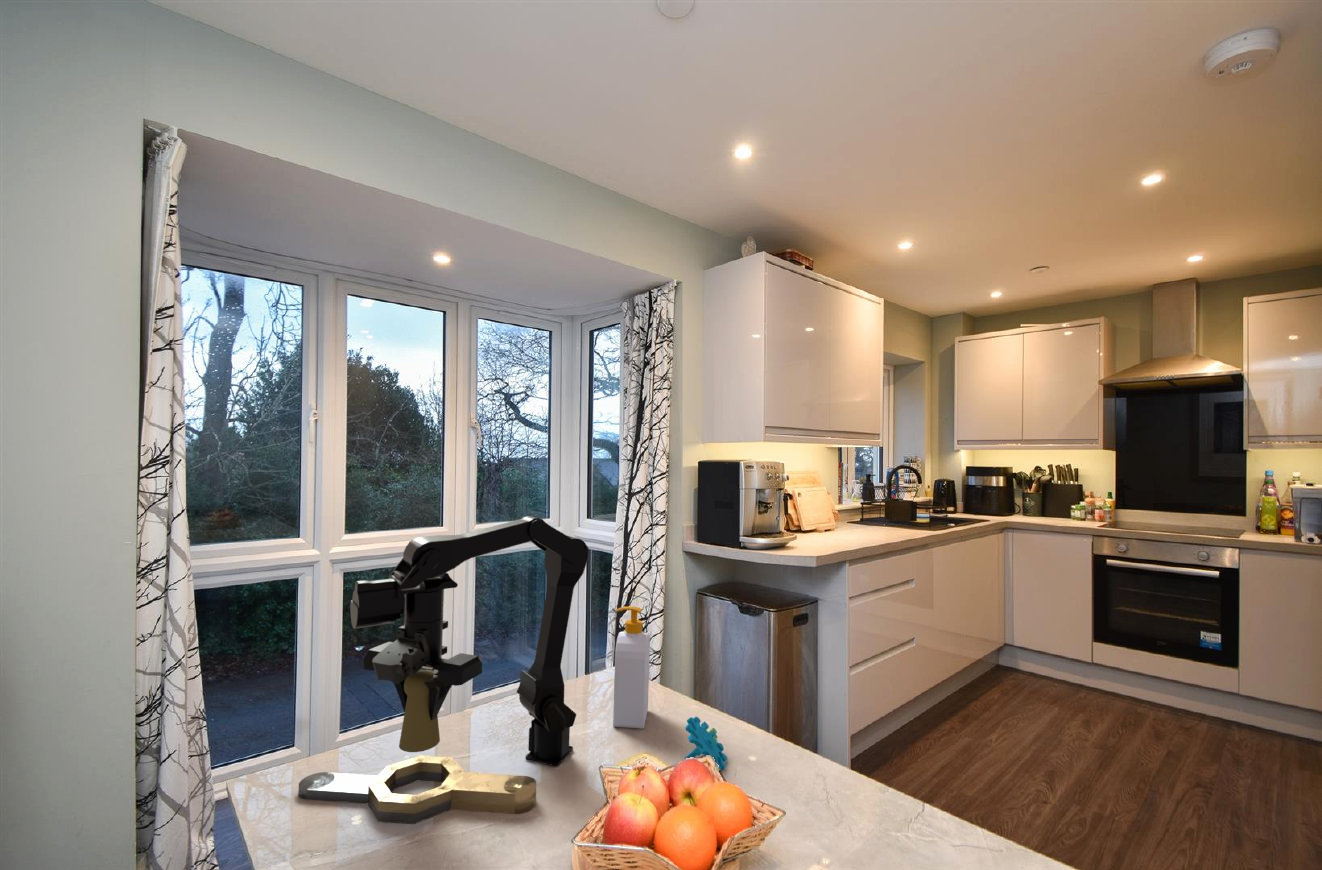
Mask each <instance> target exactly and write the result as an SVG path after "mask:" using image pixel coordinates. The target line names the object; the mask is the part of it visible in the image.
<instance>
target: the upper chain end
mask: <svg viewBox="0 0 1322 870" xmlns="http://www.w3.org/2000/svg"><path fill="white" fill-rule="evenodd" d="M419 771H423V772H438V773H442V774H443V775H444V776H445V778H446V780H445V781H444V782H443V784H442V783H441V785H440V786H437V787H435V788H432V789H429V790H426V791H423V792H421V793H417V794H404V793H403V794H402V793H393V792H392V793H391V792H390V790H389V789H388V787H389V786H390V785H391V784H392V783H393V782H394V780H395V779H397V778H400V777H403V776H407V775H410V774H413V773H416V772H419ZM537 784H538V783H537V780H536V779H535V778H534V777H532V776H528V775H519V774H518V775H517V774H503V773H488V772H487V773H486V772H485V773H484V772H472V771H465V770H464V769H463V768H462V767H461V766H460V765H459V764H458V763H457V762H456V761H455V760H454V758H452V757H448V756H434V755H433V756H432V755H430V756H429V755H418V756H415V757H412V758H409V759H408V758H407V759H405V760H401V761H399V762H395V763H392V764H389V765H386V766H385V768H384V769H382V770H381V772H380V773H378V774H377V777H376V778H375V779H374V780H373V781H372V782H371V783H370V784H369V786H368V795H369V797H370V798H371V800H372V801H373V803H374V805H375V806H376V808H377V809H378V811H381V812H396V813H410V814H415V813H418V812H420V811H423V810H426V809H428V808H431V807H434V806H436V805H439V804H442V803H444V802H447V801H450V800H451V809H450V810H453V811H454V810H455V811H469V812H481V813H496V814H497V813H499V814H515V815H521V814H524V813H528V812H529V811H532V810H533V809H534V808H535V806H536V804H537Z"/></svg>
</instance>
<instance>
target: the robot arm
mask: <svg viewBox="0 0 1322 870" xmlns="http://www.w3.org/2000/svg"><path fill="white" fill-rule="evenodd" d="M528 542H531V543H532V544H533V545H534V546H535V547H537V548H538V549H540V550H541V551H543V552H544V569H545V574H546V578H547V589H546V593H545V599H544V600H545V601H544V607H543V612H542V618H541V622H540V629H539V633H538V639H537V640H538V641H537V646H536V650H535V651H536V652H535V656H534V657H535V659H534V661H533V664H532V665H531V666H530V668H529V669H528V670H524V669H522V670H521V671H520V675H519V676H520V678H519V685H518V688H517V690H516V693H517V695H519V696H518V697H519V698H518V699H519V702H520V704H521V705H522V707H523V708H524V709H525V710H527V711H528V714H529V715H530V716H531V717H533V719H532V720H531V721H530V722H531V723H530V724H531V726H530V727H529V729H528V747H527V748H528V753H527V754H526V755H525V760H526V761H531V762H535V763H540V764H545V765H549V766H552V767H557V766H559V765H560V764H561V763H562V762H563V761H564V760H565V759H566V758H567V757H568V756H569V755H570V754H571V753H572V752H573V750H574V747H573V746H571V745H570V728H571V727H573V726H574V723H575V720H576V718H577V713H576V712H575V711H574V710H572V709H571V708H570V707H569V706H568V705H567V704H566V703H565V681H564V677H563V672H562V660H563V655H564V648H565V643H566V642H565V641H566V637H567V630H568V625H569V624H568V623H569V619H570V613H571V607H572V602H573V595H574V589H575V587H576V585H577V583H578V582H579V581H580V579H581V577H582V576H583V575H584V573H585V570H586V566H587V563H588V560H589V557H590V550H589V549H590V548H589V546H588V545H587V544H586V542H585V541H584V540H583V539H581V538H577V537H574V536H570V535H566V534H565V533H563V532H562V531H560V530H558V529H556V528H555V527H554V526H551V525H550V524H548V523H547V522H546V521H545V520H544V519H543V518H540V517H536V516H533V515H527V516H523V517H522V518H520V519H516V520H512V521H508V522H504V523H500V524H497V525H493V526H489V527H485V528H482V529H481V528H480V529H478V530H473V531H470V532H469V531H468V532H466V533H461V534H455V535H454V534H442V535H441V534H439V535H428V536H418V537H416V538H413V539H411V540H409V542H408V543H407V544H406V547H405V548H404V551H403V554H402V555H403V557H402V558H401V560H400V561H399V562H398V563H397V564H396V566H395V567H394V569H393V570H392V571H391V573H390V574H389V575H388V578H387V579H376V580H356V581H355V582H354V590H353V592H352V597H351V598H352V599H351V600H350V602H349V603H350V621H351V627H352V628H353V629H361V628H367V627H375V626H381V625H388V624H390V625H391V624H395V623H396V621H397V620H399V619H401V617H402V615H403V614H404V623H403V625H402V626H399V627H398V630H397V631H396V638H395V641H387V642H384V643H382V644H380V645H377V646H375V647H371V648H370V649H368V650H367V652H366V653H365V655H364V656H363V670H366V671H367V670H368V671H371V672H374V673H375V675H376V679H377V680H379V681H383V680H384V681H390V682H392V683H393V686H394V687H395V689H396V693H397V694H398V697H399V701H400V702H401V706H402V709H403V711H404V713H405V708H406V702H407V694H406V693H405V691H404V682H405V679H406V678H407V676H408V675H409V674H416V673H417V672H418V671H419V670H432V671H434V674H433V678H431V679H430V680H428V681H426V682H424V684H425V685H426V686H427V687H428V688H429V715H430V719H431V720H434V719H435V718H436V717H437V716H438V715H439V713H440V710H441V708H442V706H443V704H444V702H445V700H446V698H447V695H448V693H449V691H450V690H451V688H452V687H453V686H454V687H456V686H462V685H464V684H465V683H467V682H469V681H471V680H473V679H475V678H476V677H478V676H480V675H481V674H483V661H482V659H481V658H480V656H478V655H473V654H470V653H469V654H467V653H462V652H460V653H458V654H456V655H454V656H452V657H449V658H443V657H442V656H443V655H445V654H448V646H446V645H445V646H444V645H443V630H445V629H448V628H449V621H448V620H444V597H445V590H446V589H456V588H457V587H458V583H457V582H456V581H455V580H453V578H452V577H450V574H449V573H448V572H450V571H452V570H454V569H456V568H457V567H459V566H460V565H461V564H463V563H465V562H466V561H468V560H470V559H473V558H476V557H481V556H483V555H488V554H491V553H494V552H497V551H502V550H505V549H508V548H511V547H516V546H519V545H522V544H526V543H528Z"/></svg>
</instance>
